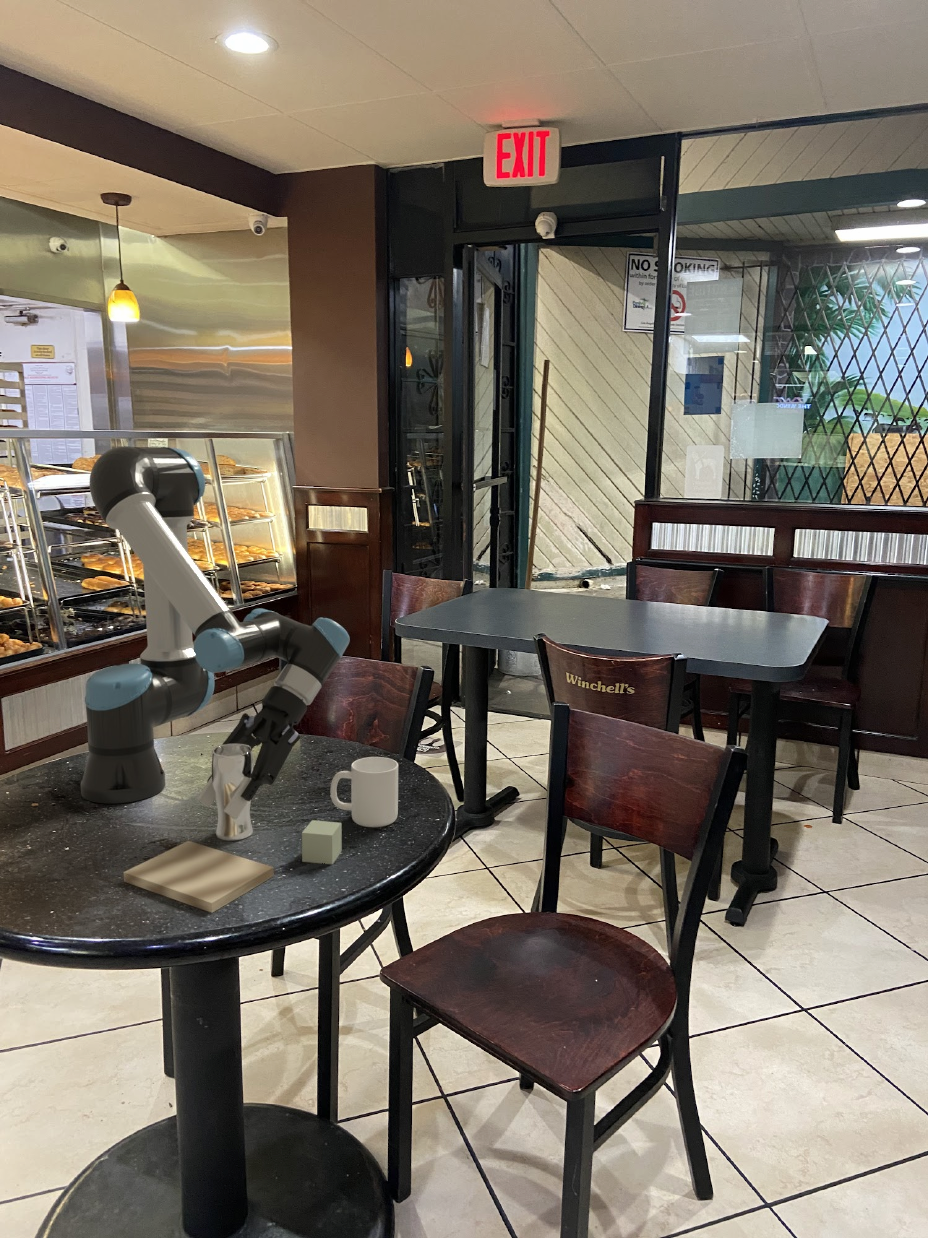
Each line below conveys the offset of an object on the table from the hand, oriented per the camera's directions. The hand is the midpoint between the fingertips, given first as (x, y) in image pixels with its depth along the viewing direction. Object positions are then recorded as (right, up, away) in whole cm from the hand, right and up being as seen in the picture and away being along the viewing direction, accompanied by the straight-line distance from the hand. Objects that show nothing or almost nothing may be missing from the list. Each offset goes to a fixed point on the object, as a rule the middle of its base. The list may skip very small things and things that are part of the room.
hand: (216, 809), depth 148 cm
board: (+1, -8, -13) cm, 15 cm away
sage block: (+18, -7, -4) cm, 20 cm away
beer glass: (+2, -5, +4) cm, 7 cm away
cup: (+23, -4, +11) cm, 26 cm away
